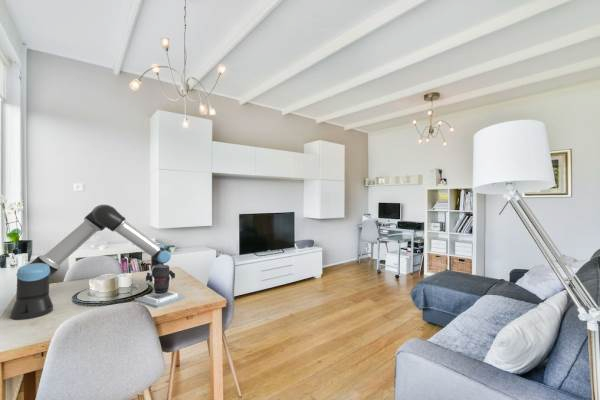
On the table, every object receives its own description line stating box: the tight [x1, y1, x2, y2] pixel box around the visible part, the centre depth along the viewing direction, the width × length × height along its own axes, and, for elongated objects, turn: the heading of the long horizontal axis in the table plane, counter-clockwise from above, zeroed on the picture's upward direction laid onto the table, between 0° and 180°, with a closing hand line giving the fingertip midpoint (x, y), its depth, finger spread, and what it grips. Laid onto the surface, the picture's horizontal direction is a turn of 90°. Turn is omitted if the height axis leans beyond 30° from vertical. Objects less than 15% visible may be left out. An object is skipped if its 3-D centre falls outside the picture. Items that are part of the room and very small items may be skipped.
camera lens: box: [153, 264, 170, 294], centre depth 162 cm, size 8×8×15 cm
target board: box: [134, 290, 186, 309], centre depth 162 cm, size 20×18×3 cm
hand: (162, 280), depth 158 cm, fingers closed on camera lens, 8 cm apart
